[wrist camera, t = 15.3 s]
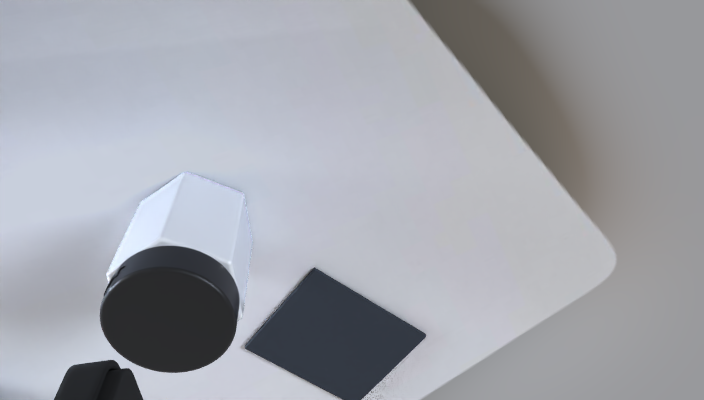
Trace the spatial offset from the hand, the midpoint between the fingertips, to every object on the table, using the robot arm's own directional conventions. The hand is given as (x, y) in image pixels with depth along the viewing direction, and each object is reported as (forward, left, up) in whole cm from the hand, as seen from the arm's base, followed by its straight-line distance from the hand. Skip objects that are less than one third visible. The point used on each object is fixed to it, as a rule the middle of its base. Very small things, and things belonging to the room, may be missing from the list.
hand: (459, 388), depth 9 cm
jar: (+8, -20, -36) cm, 42 cm away
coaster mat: (+24, -19, -36) cm, 47 cm away
